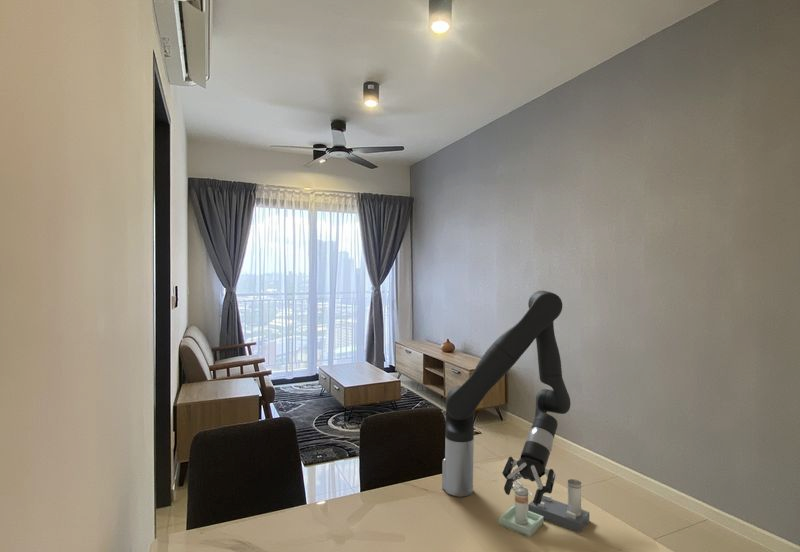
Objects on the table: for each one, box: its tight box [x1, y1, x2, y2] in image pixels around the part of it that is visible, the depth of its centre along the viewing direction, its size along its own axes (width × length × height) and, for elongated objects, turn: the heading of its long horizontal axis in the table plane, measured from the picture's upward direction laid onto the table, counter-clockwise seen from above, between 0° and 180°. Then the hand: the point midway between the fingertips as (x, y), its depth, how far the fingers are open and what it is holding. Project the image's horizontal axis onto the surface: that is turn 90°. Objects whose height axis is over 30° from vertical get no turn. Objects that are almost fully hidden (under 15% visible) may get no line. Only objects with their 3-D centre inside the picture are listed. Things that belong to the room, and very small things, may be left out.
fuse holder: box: [528, 493, 590, 534], centre depth 125 cm, size 15×8×4 cm, turn 50°
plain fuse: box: [567, 478, 582, 517], centre depth 122 cm, size 4×4×9 cm
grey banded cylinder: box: [514, 486, 529, 525], centre depth 121 cm, size 4×4×9 cm
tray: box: [498, 504, 545, 538], centre depth 121 cm, size 9×9×2 cm
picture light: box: [512, 479, 533, 497], centre depth 144 cm, size 14×4×2 cm, turn 13°
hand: (520, 498), depth 121 cm, fingers open, 8 cm apart
